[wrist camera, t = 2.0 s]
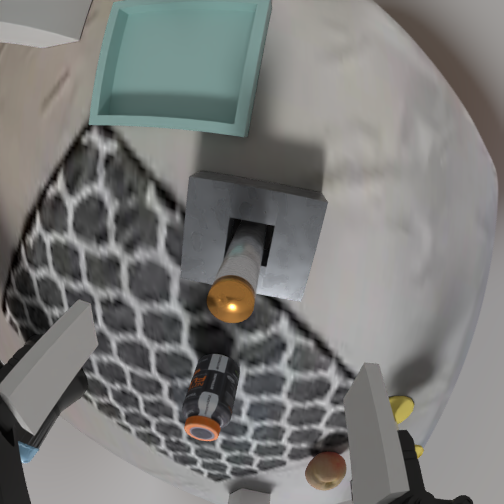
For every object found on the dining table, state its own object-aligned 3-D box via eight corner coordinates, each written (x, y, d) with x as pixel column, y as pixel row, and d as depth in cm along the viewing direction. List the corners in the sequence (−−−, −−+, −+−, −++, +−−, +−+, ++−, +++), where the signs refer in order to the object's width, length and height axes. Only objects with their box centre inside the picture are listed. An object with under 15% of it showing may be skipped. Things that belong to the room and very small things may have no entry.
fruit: (352, 451, 46) (356, 484, 38) (323, 465, 49) (324, 495, 41) (327, 442, 44) (329, 477, 37) (297, 456, 47) (296, 489, 40)
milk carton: (80, 41, 23) (-46, 17, 5) (43, 48, 23) (-71, 40, 5) (96, -7, 20) (-12, -53, 2) (57, 3, 20) (-46, -23, 3)
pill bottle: (207, 345, 37) (185, 412, 26) (247, 364, 37) (236, 433, 27) (191, 370, 39) (169, 433, 29) (228, 387, 40) (215, 450, 29)
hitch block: (191, 260, 32) (180, 277, 28) (201, 170, 28) (189, 176, 24) (299, 282, 32) (301, 301, 28) (321, 192, 28) (327, 202, 24)
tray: (104, 124, 27) (88, 124, 24) (126, 10, 21) (113, 2, 18) (247, 136, 26) (243, 137, 24) (271, 8, 21) (270, -4, 18)
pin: (237, 238, 31) (205, 317, 18) (241, 212, 29) (209, 278, 17) (263, 243, 30) (249, 326, 18) (268, 218, 29) (257, 288, 17)
